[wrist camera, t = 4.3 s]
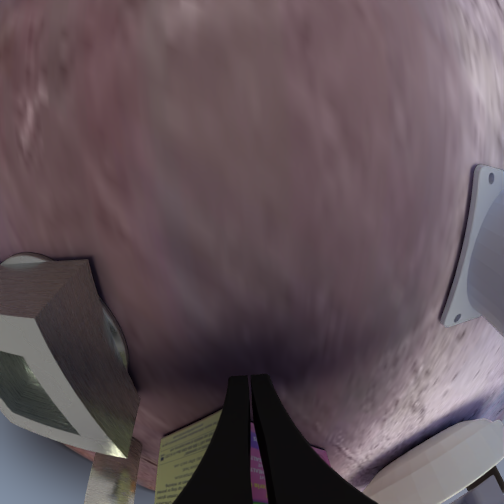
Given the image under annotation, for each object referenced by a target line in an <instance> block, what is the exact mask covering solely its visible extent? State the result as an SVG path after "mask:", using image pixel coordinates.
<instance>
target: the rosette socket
mask: <svg viewBox="0 0 504 504" xmlns="http://www.w3.org/2000/svg"><path fill="white" fill-rule="evenodd" d="M128 363H129V355H128V348H127V344H126V341H125V337H124V335H123V333H122V331H121V328H120V326H119V324H118V323H117V321H116V319H115V317H114V316H113V314H112V313H111V311H110V310H109V308H108V307H107V306H106V304H105V303H104V302H103V301H102V299H101V298H100V297H99V296H98V293H97V290H96V287H95V283H94V280H93V276H92V273H91V269H90V265H89V262H88V259H86V260H69V261H55V260H53V259H51V258H49V257H46V256H43V255H40V254H36V253H18V254H15V255H13V256H10V257H9V258H8V259H6V260H5V261H4V262H2V263H1V264H0V410H1V412H2V413H3V414H4V415H5V416H6V417H7V418H8V419H9V421H10V422H11V423H13V424H15V425H18V426H20V427H22V428H24V429H27V430H29V431H32V432H34V433H37V434H39V435H42V436H45V437H47V438H50V439H53V440H56V441H59V442H62V443H65V444H68V445H72V446H75V447H78V448H82V449H86V450H90V451H93V452H98V453H102V454H106V455H111V456H116V457H121V458H127V457H128V452H129V447H130V443H131V438H132V433H133V429H134V424H135V420H136V416H137V411H138V407H139V403H140V397H139V395H138V393H137V391H136V389H135V387H134V385H133V382H132V380H131V378H130V376H129V374H128V372H127V368H128Z"/></svg>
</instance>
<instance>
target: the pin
mask: <svg viewBox="0 0 504 504" xmlns="http://www.w3.org/2000/svg"><path fill="white" fill-rule="evenodd" d="M141 450H142V445H141V443H140V442H139V441H137V440H136V439H134V438H133V437H132V438H131V443H130V447H129V452H128V457H127V458H121V457H116V456H111V455H106V454H102V453H98V452H96V453H95V457H94V461H93V466H92V469H91V473H90V478H89V482H88V486H87V491H86V496H85V501H84V504H134V497H135V489H136V482H137V475H138V469H139V462H140V456H141Z"/></svg>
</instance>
